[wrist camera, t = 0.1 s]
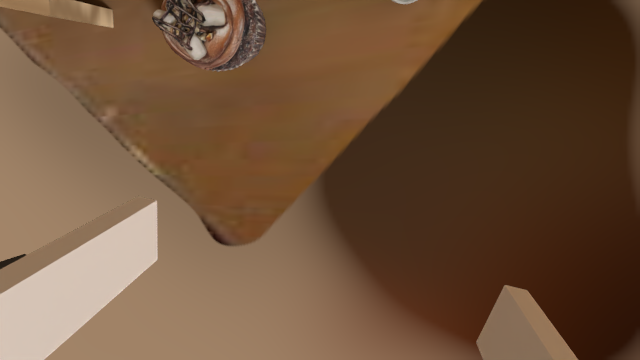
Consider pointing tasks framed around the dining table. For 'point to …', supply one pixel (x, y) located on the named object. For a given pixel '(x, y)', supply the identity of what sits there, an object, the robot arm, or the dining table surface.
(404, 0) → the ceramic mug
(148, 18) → the dining table surface
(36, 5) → the board
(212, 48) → the cupcake
